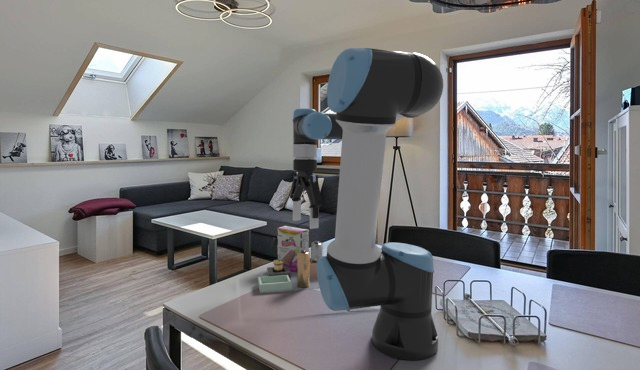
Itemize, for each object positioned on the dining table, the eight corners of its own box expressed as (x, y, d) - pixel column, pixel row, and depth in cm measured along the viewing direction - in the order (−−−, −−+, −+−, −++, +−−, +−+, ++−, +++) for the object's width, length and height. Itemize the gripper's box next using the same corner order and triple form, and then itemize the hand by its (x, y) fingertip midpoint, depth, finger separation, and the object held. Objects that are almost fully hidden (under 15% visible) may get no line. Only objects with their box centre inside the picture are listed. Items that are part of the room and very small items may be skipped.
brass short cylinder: (284, 275, 125) (284, 262, 124) (273, 276, 124) (273, 263, 123) (283, 271, 128) (283, 259, 128) (272, 272, 127) (272, 259, 127)
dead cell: (323, 275, 129) (323, 242, 128) (312, 276, 128) (312, 243, 127) (320, 271, 133) (321, 239, 132) (309, 272, 132) (309, 240, 131)
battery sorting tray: (336, 289, 120) (336, 271, 119) (260, 296, 114) (260, 277, 113) (323, 272, 135) (323, 256, 134) (256, 278, 129) (256, 261, 129)
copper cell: (310, 287, 119) (311, 252, 117) (298, 288, 118) (298, 252, 116) (308, 283, 122) (308, 248, 121) (296, 284, 121) (296, 249, 120)
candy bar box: (276, 271, 137) (276, 227, 135) (285, 267, 141) (284, 225, 140) (301, 277, 131) (301, 231, 129) (309, 273, 135) (309, 229, 134)
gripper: (334, 159, 110) (333, 230, 112) (300, 157, 132) (300, 216, 134) (311, 160, 106) (310, 233, 108) (280, 157, 128) (280, 218, 131)
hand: (305, 224), depth 121 cm, fingers open, 13 cm apart
